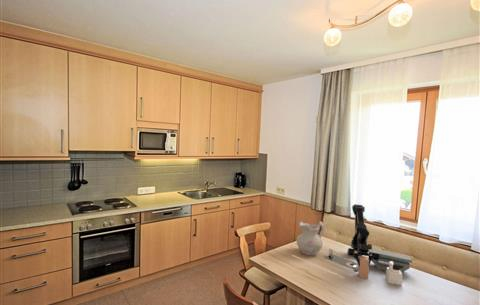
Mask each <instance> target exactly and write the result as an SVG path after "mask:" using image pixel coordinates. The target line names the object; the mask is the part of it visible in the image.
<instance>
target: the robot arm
mask: <svg viewBox="0 0 480 305" xmlns="http://www.w3.org/2000/svg"><path fill="white" fill-rule="evenodd" d="M351 208H352V209H351V210H352V213H353V215H354V235H353V236H352V239H351V241H350V247H349V248H348V249H347V256H351V257H352V258H354V260H355V262H356V263H357V264H358V265H359V266H360V262H359V256H365V257H368V259H369V267H370V265H371V262H372V261H371V260H379V258H380V254H379V253H377V252H372V254H371V253H369V249H373V247H372V246H373V245H372V244H370V243H368V239H369V237H370V231H369V230H368V227H367V225H366V223H365V218H364V213H365V211H366V210H365V209H366V208H365V206H363V205H362V204H353V205H352V206H351Z"/></svg>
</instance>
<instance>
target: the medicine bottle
mask: <svg viewBox="0 0 480 305" xmlns="http://www.w3.org/2000/svg"><path fill="white" fill-rule="evenodd" d="M385 278H386V280H387V282H388V284H393V285H397V286H403V272H402V273H401V271H400V264H399V263H397V262H394V261H390V262H389V267H387V270H386V271H385Z"/></svg>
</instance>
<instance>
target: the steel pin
mask: <svg viewBox="0 0 480 305" xmlns="http://www.w3.org/2000/svg"><path fill="white" fill-rule="evenodd" d="M333 250H334V249H332V248H329V249H328V256H329V257H332V255H334V253H333V252H334V251H333Z"/></svg>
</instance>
